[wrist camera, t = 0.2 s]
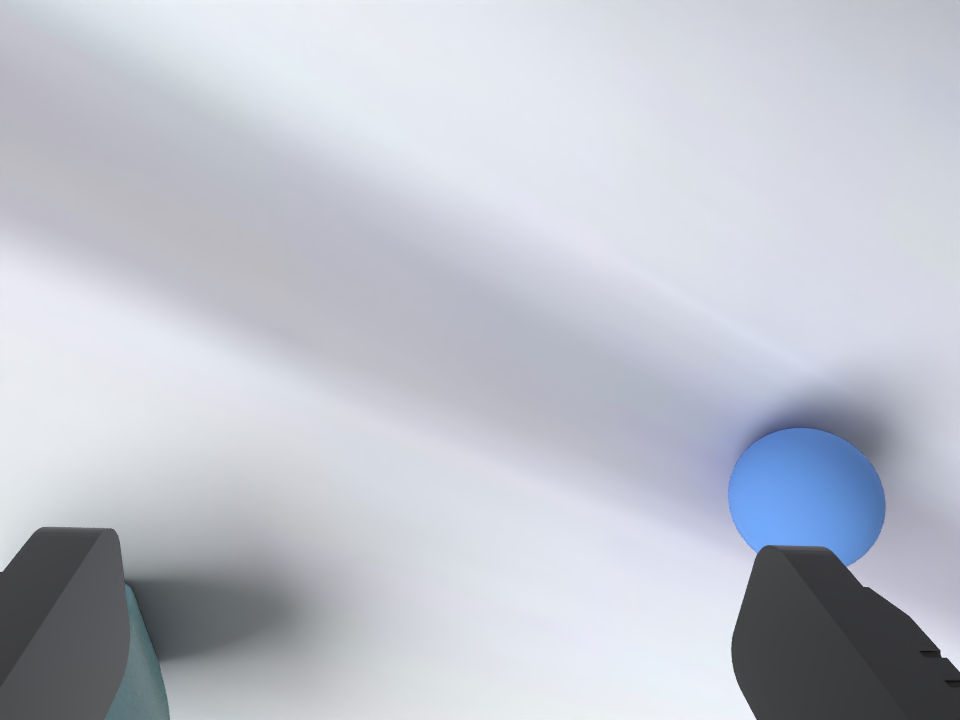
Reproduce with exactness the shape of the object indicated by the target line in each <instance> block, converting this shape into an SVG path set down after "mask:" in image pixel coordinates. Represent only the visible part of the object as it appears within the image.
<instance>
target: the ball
mask: <svg viewBox="0 0 960 720" xmlns="http://www.w3.org/2000/svg"><path fill="white" fill-rule="evenodd" d="M728 499H729V508H730V512H731V515H732V519H733V521H734V524H735V526H736V528H737V530H738V532H739V533H740V535H741V536H742V537H743V539H744V540H745V541H746V543H747V544H748V545H749V546H750V547H751V548H752V549H753V550H754V551H755V552H756V553H757V554H758V552H759V551H760V550H761V548H763V547H764V546H767V545H790V546H823V547H826V548H828V549H830V550H831V551H832V552H833V553H834V554H835V555H836V556H837V557H838V558H839V559H840V560H841V562H842V563H843V564H844V565H845V566H849V565H850V564H852V563H854V562H856V561H857V560H858V559H860V558H861V557H862V556H863V555H864V554H865V553H866V552H868V550H869V549H870V548H871V547H872V546H873V544H874V543H875V541H876V540H877V538H878V536H879V534H880V532H881V529H882V526H883V523H884V518H885V504H886V503H885V496H884V490H883V487H882V484H881V481H880V478H879V476H878V474H877V473H876V471H875V469H874V467H873V466H872V464H871V463H870V462H869V461H868V459H867V458H866V457H865V456H864V455H863V454H862V453H861V452H860V451H859V450H858V449H857V448H855V447H854V446H853V445H852V444H850V443H849V442H847V441H845V440H844V439H842V438H840V437H838V436H836V435H833V434H831V433H828V432H825V431H821V430H817V429H810V428H791V429H784V430H780V431H776V432H774V433H771V434H769V435H767V436H764V437H763V438H761V439H759V440H758V441H756V442H755V443H754V444H752V445H751V446H750V447H749V448H748V449H747V450H746V451H745V452H744V453H743V454H742V455H741V457H740V458H739V460H738V461H737V463H736V465H735V467H734V469H733V472H732V475H731V477H730V482H729V490H728Z"/></svg>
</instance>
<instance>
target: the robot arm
mask: <svg viewBox="0 0 960 720" xmlns="http://www.w3.org/2000/svg"><path fill="white" fill-rule="evenodd" d="M129 647H130V624H129V616H128V607H127V599H126V590H125V582H124V573H123V565H122V556H121V548H120V542H119V538H118V535H117V533H116V532H115V530H113V529H111V528H71V527H42V528H40V529H38V530H37V531H35V532H34V534H33V535H32V536H31V537H30V538H29V539H28V541H27V542H26V543H25V544H24V546H23V547H22V548H21V549H20V551H19V552H18V553H17V554H16V556H15V557H14V558H13V559H12V561H11V562H10V563H9V564H8V566H7V567H6V568H5V570H4V571H3V572H0V720H104V719H105V717H106V715H107V713H108V711H109V709H110V706H111V704H112V702H113V700H114V698H115V696H116V693H117V691H118V689H119V687H120V684H121V682H122V679H123V676H124V673H125V669H126V665H127V660H128V655H129ZM731 652H732V663H733V668H734V673H735V676H736V679H737V682H738V685H739V687H740V689H741V691H742V693H743V695H744V697H745V699H746V700H747V702H748V704H749V706H750V708H751V710H752V712H753V714H754V716H755V717H756V719H757V720H960V672H959V671H958V670H957V668H956V667H955V666H954V665H953V664H952V663H951V662H950V661H949V660H948V658H942V657H941V655H940V650H939V649H938V647H937V646H936V645H935V644H934V643H933V642H932V641H931V640H930V639H929V637H928V636H927V635H926V634H925V633H924V632H923V631H922V630H921V629H920V627H919V626H918V625H917V624H916V623H915V622H914V621H913V620H912V619H911V617H910V616H908V615H907V614H906V613H904V612H903V611H901V610H900V609H899V608H897V607H896V606H894V605H893V604H891V603H890V602H889V601H887V600H886V599H884V598H883V597H882V596H880V595H879V594H877V593H876V592H875V591H873V590H872V589H870V588H869V587H863V586H862V585H861V584H860V582H859V581H858V580H857V579H856V578H855V577H854V576H853V574H852V573H851V572H850V571H849V570H848V569H847V567H846V566H845V565H844V564H843V563H842V562H841V560H840V559H839V558H838V557H837V556H836V555H835V554H834V553H833V552H832V551H831V550H830V549H828V548H826V547H823V546H790V545H767V546H764V547H763V548H761V550H760V551H759V552H758V554H757V556H756V559H755V562H754V565H753V568H752V572H751V575H750V578H749V582H748V585H747V589H746V592H745V595H744V599H743V602H742V605H741V609H740V612H739V616H738V619H737V622H736V626H735V629H734V632H733V637H732V647H731Z"/></svg>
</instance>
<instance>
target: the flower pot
mask: <svg viewBox="0 0 960 720" xmlns="http://www.w3.org/2000/svg"><path fill="white" fill-rule="evenodd" d="M125 590H126V599H127V607H128V616H129V624H130V647H129V655H128V660H127V665H126V669H125V673H124V676H123V679H122V682H121V684H120V687H119V689H118V691H117V693H116V696H115V698H114V700H113V702H112V704H111V706H110V709H109V711H108V713H107V715H106V717H105V719H104V720H170V715H169V706H168V700H167V695H166V690H165V686H164V682H163V678H162V674H161V670H160V666H159V663H158V660H157V657H156V654H155V651H154V649H153V646H152V643H151V640H150V638H149V635H148V632H147V630H146V627H145V624H144V621H143V618H142V615H141V612H140V610H139V607H138V604H137V601H136V598H135V595H134V593H133V591H132V589H131V587H130V586H129V585H127V584H125Z"/></svg>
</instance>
